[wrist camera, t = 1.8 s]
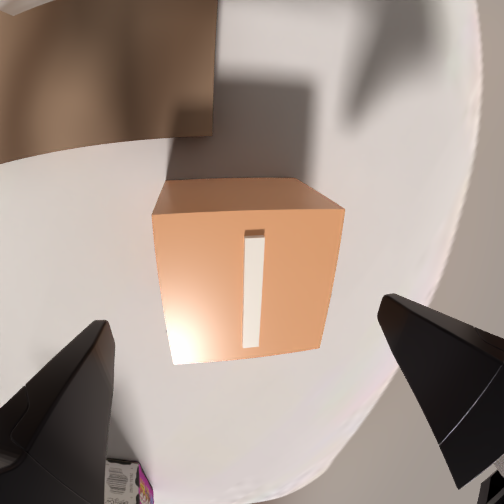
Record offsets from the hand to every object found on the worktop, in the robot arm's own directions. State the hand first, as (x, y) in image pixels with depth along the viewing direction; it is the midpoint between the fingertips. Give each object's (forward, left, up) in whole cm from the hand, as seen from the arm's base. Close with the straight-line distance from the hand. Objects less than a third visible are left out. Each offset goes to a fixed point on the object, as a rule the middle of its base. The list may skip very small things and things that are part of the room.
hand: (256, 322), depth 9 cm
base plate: (-9, +13, -6) cm, 17 cm away
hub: (0, 0, -6) cm, 6 cm away
